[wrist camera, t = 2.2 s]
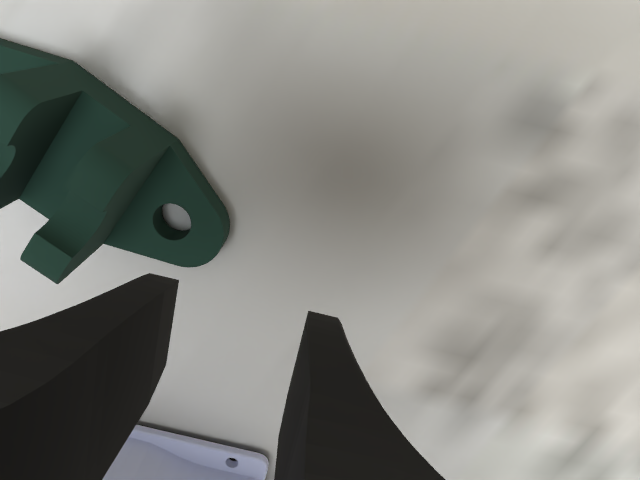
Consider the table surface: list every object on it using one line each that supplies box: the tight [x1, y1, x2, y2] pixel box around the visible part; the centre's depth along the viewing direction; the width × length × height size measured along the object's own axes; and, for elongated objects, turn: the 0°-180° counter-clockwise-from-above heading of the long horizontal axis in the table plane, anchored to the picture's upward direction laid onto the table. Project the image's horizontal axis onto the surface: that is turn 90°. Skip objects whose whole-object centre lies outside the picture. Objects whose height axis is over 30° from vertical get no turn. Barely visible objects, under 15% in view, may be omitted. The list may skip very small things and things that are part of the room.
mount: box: [0, 38, 230, 284], centre depth 19 cm, size 11×4×5 cm, turn 53°
